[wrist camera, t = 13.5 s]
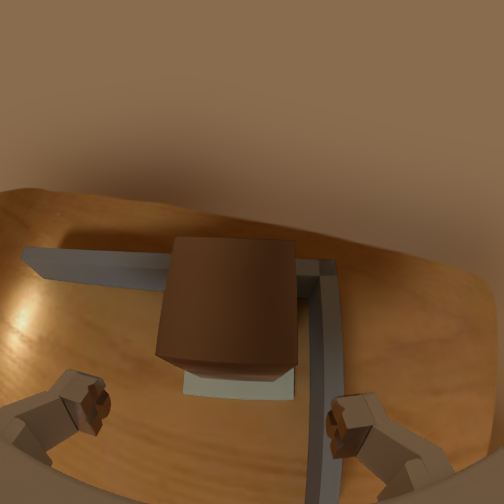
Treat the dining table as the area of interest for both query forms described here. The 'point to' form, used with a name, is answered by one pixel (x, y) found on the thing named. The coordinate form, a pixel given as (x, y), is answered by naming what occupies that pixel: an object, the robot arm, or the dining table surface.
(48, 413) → the robot arm
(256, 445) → the dining table surface
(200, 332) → the walnut block
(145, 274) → the grey l-shaped bracket
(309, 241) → the dining table surface
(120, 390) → the dining table surface
